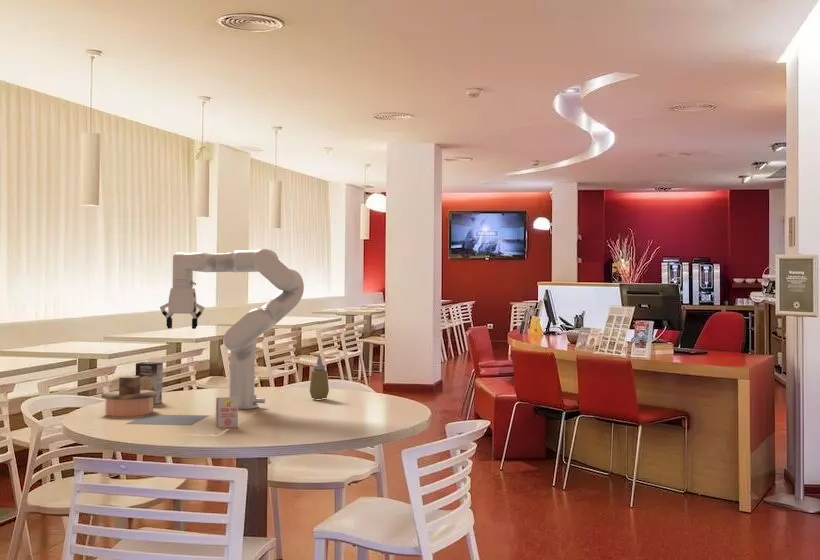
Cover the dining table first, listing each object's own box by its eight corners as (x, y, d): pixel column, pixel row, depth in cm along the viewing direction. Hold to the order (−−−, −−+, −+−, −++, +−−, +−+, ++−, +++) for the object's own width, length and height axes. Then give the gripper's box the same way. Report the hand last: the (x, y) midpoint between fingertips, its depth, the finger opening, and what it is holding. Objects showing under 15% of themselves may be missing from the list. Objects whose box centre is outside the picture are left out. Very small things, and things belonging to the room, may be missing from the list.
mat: (209, 417, 274) (209, 415, 275) (190, 426, 255) (190, 425, 255) (149, 416, 276) (149, 414, 276) (125, 425, 256) (125, 423, 256)
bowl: (159, 410, 288) (159, 393, 288) (142, 417, 272) (142, 399, 272) (117, 410, 288) (117, 392, 289) (97, 417, 273) (98, 398, 273)
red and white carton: (215, 427, 255) (216, 396, 255) (236, 426, 257) (236, 396, 257) (216, 429, 251) (217, 398, 251) (237, 428, 253) (238, 397, 253)
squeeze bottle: (307, 398, 324) (307, 356, 324) (325, 398, 327) (326, 355, 327) (312, 401, 317) (312, 357, 317) (331, 400, 320) (331, 357, 320)
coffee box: (133, 403, 306) (134, 363, 306) (141, 401, 312) (141, 361, 312) (156, 404, 305) (156, 363, 305) (162, 402, 311) (163, 362, 311)
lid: (164, 393, 289) (165, 374, 289) (144, 400, 270) (145, 380, 270) (115, 392, 290) (115, 373, 290) (92, 399, 271) (92, 379, 271)
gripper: (207, 284, 304) (206, 328, 303) (164, 284, 304) (163, 327, 304) (201, 284, 296) (200, 329, 296) (157, 284, 297) (156, 328, 297)
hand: (181, 328), depth 300 cm, fingers open, 9 cm apart
